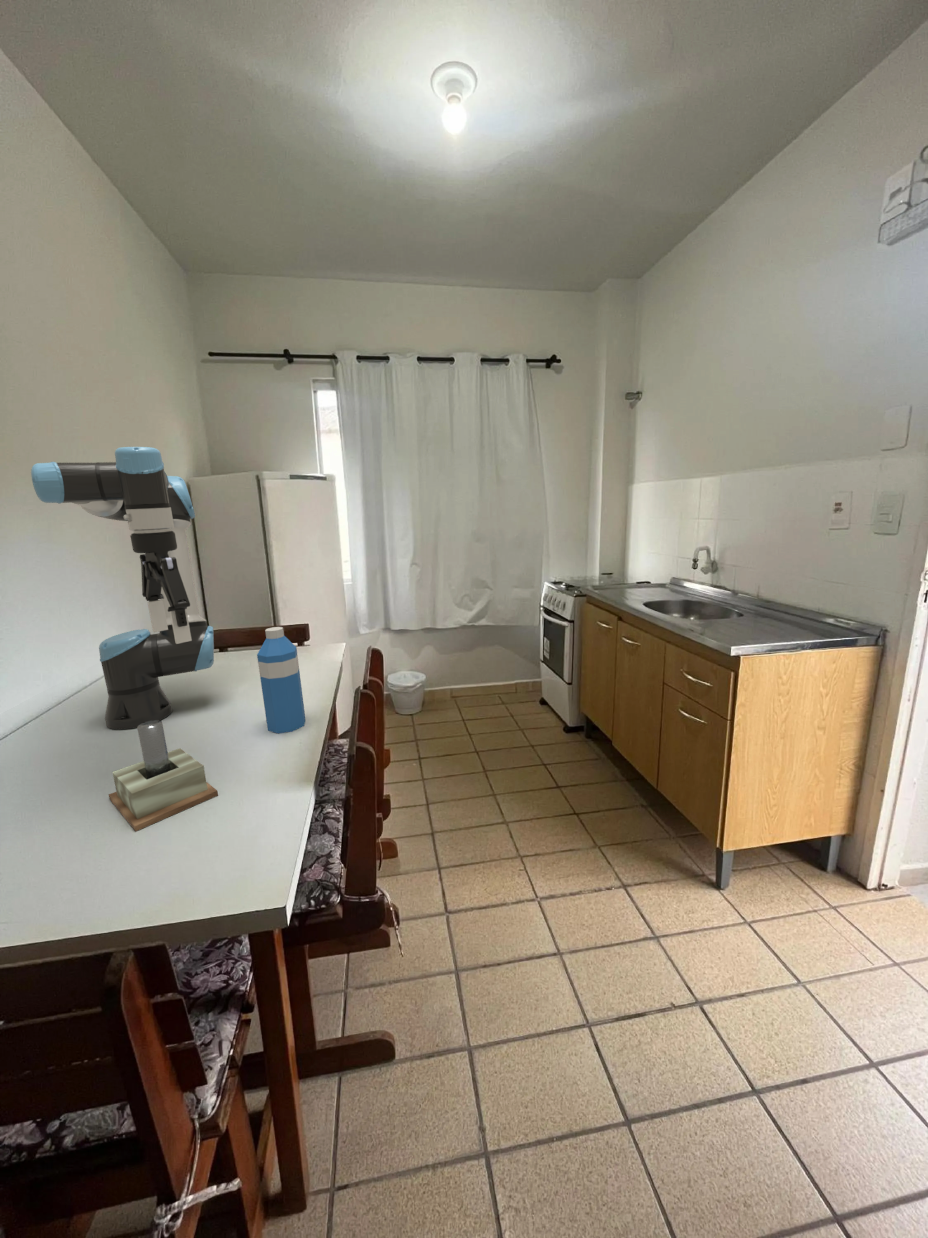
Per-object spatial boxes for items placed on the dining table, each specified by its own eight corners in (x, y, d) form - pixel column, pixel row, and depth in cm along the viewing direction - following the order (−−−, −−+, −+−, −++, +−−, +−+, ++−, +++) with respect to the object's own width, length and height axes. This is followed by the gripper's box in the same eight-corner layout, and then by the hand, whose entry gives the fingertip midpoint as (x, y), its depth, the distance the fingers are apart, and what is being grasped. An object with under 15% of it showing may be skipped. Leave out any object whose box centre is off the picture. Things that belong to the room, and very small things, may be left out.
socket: (109, 799, 99) (103, 770, 97) (186, 769, 109) (181, 743, 107) (135, 831, 88) (128, 800, 87) (218, 795, 98) (213, 766, 97)
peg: (147, 793, 98) (134, 725, 95) (170, 784, 101) (157, 718, 98) (154, 800, 95) (141, 731, 92) (177, 791, 98) (165, 723, 95)
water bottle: (294, 734, 123) (281, 634, 117) (259, 732, 125) (245, 633, 119) (313, 718, 132) (301, 624, 126) (280, 717, 134) (267, 624, 128)
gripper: (112, 530, 105) (132, 630, 110) (151, 534, 88) (172, 652, 93) (153, 527, 110) (170, 623, 115) (197, 531, 93) (215, 642, 99)
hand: (171, 636), depth 104 cm, fingers open, 13 cm apart
